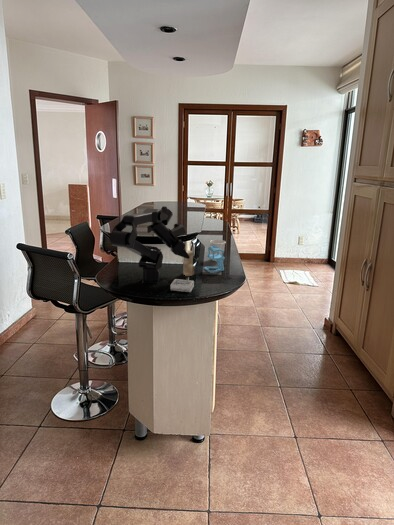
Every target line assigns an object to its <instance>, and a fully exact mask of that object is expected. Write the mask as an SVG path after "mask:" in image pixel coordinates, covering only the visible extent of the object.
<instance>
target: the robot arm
mask: <svg viewBox="0 0 394 525" xmlns="http://www.w3.org/2000/svg"><path fill="white" fill-rule="evenodd" d="M172 217H174V216H173V212H172V210H170V209H169V208H168V207H167V206H162V207H161V209H160V208H159V209H158V208H151V207H150V208H149V207H148V208H145V209H144V210H143V212H138V213H134V214H126V215H123V216H122V219H121V221H120V222H118V223H117V224H115V226H113V229H112V231H111V233H110V235H109V242H110V245H111V246H113V247H119V248H124V249H127V250H129V251H131V252H133V253H134V254H136V255H138V256H140V259H139V261H138V263H137V264H138V267H139V268H142V282H141V283H142V284H158V283H159V281H160V270H159V269H162V266H163V262H164V261H163V260H164V254H163V251H161V248H158V247H157V246H152V245H151V246H150V245H144V244H143V243H141V242H139V241H138V240H136V239H137V236H138V231H137V227H138V226H141V225H143V224H149V223H151V224H150V225H148V226H147V233H148V234H150V233H151V232H152V233H153V234H155V236H156V237H157V238H159V240H161V242H163V244H164V245H165V246H167V247H168V248H169V249H170V251H171V252H172V253H173V254H174V255H175V256H179V257H182V258H183V257H184V258H187V259H189V258H190V257H189V255H188V253H187V252H186V251H187V250H186V248H185V247H186V243H185V242H183V240H182V239H179V236H182V235H184V234H187V230H186V228H185V225H183V224H178V223H177V222H176V223H173V227H172V229H170V228H169V227H168V224H170V223H169V222H170V221H171V219H172ZM127 226H129V227H131V228H132V230H131V231H130V232H129V231H123V230H124V229H126V228H127Z"/></svg>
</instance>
